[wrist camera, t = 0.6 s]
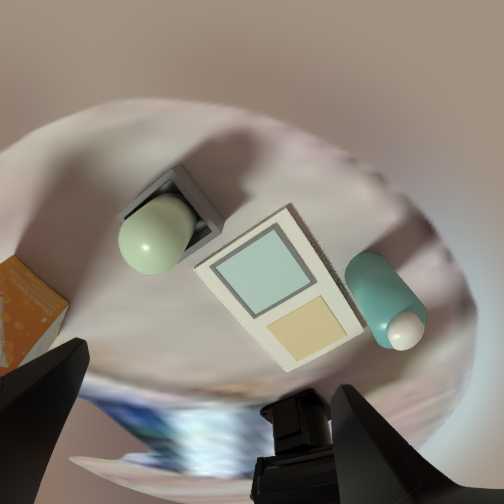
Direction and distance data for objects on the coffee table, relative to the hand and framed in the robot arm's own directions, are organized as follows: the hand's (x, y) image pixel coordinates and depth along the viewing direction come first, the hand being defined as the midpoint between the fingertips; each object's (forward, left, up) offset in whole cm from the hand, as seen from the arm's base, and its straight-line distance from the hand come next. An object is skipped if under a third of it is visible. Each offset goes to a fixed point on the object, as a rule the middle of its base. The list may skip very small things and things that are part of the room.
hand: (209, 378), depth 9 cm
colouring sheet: (-7, 0, -13) cm, 14 cm away
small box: (+7, +20, -13) cm, 25 cm away
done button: (+4, +2, -11) cm, 12 cm away
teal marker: (-8, -7, -13) cm, 17 cm away
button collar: (+4, +2, -13) cm, 14 cm away
